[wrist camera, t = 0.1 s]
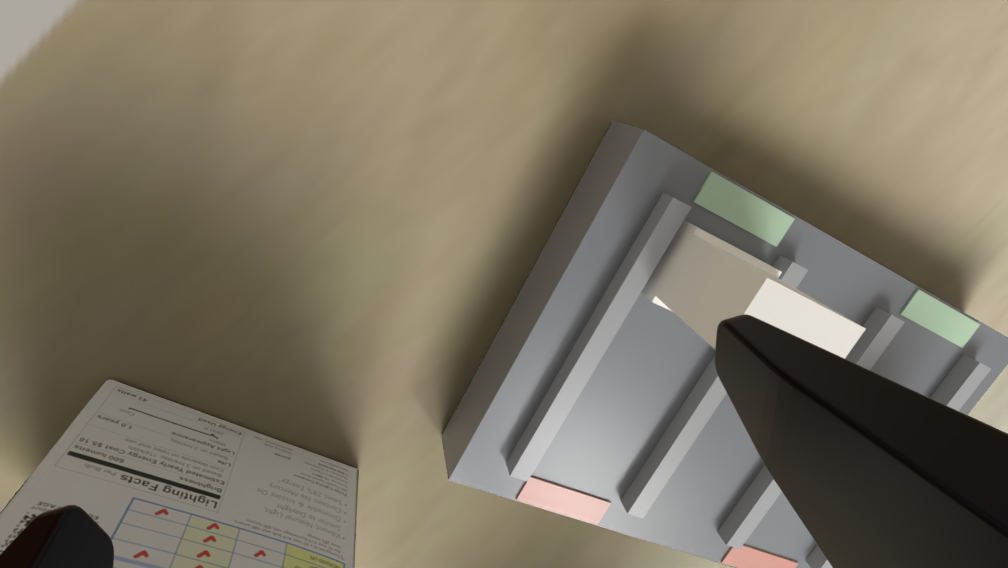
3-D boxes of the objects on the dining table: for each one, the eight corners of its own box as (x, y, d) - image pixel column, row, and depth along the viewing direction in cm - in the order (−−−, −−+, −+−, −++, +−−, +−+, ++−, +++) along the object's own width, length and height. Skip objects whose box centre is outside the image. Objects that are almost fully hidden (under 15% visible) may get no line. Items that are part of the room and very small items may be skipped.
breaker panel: (788, 550, 34) (836, 608, 30) (441, 435, 27) (450, 494, 23) (963, 318, 30) (1039, 354, 27) (613, 119, 23) (653, 132, 20)
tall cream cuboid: (723, 329, 24) (812, 403, 19) (640, 291, 23) (713, 359, 18) (766, 263, 23) (870, 321, 18) (683, 219, 22) (772, 269, 17)
